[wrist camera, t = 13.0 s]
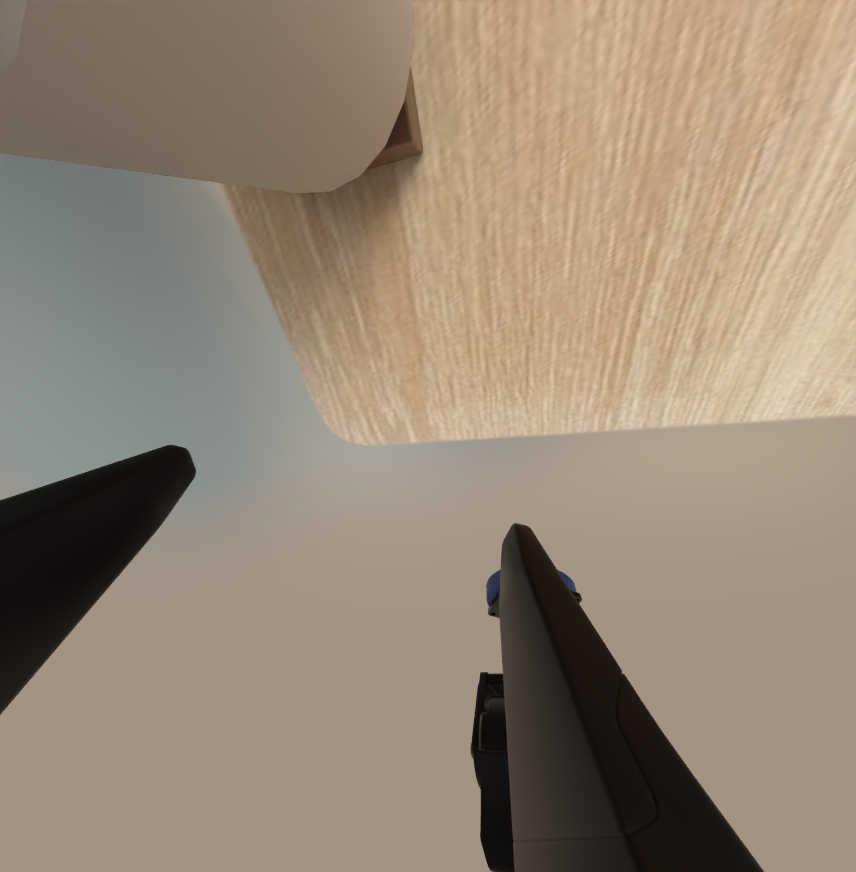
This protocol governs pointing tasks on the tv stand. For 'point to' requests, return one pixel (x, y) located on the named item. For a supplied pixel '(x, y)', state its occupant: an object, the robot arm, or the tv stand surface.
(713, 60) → the tv stand surface
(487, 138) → the tv stand surface
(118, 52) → the can
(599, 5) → the tv stand surface
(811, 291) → the tv stand surface
